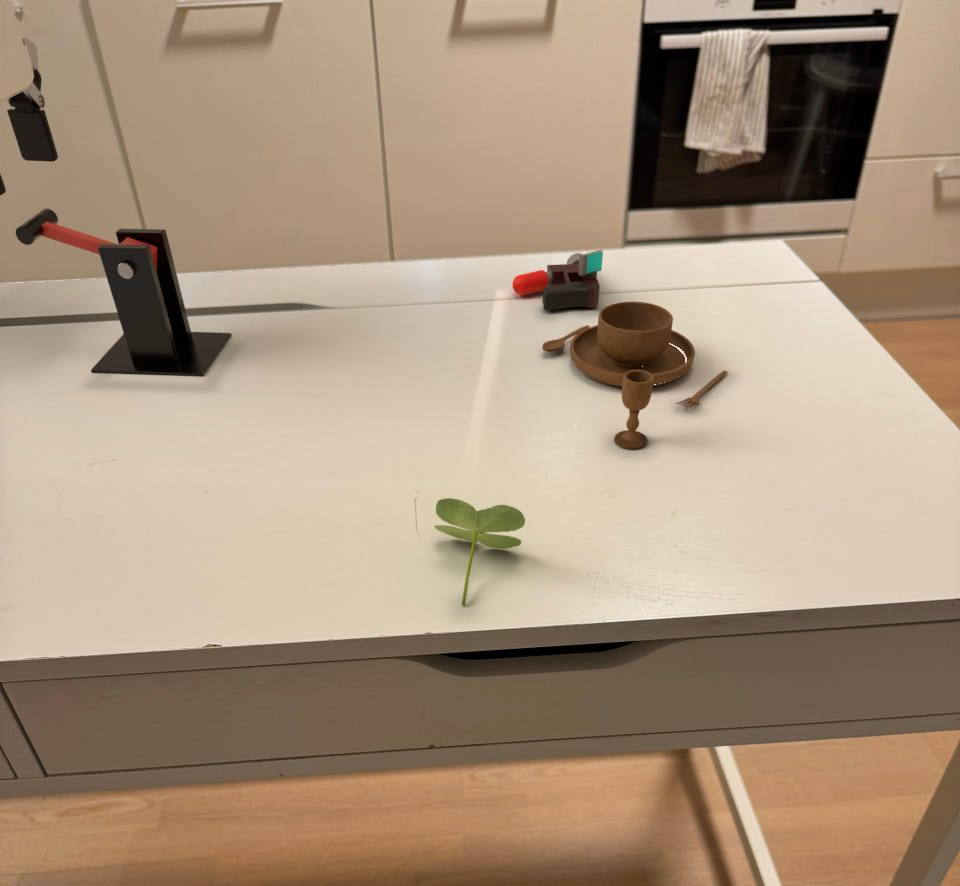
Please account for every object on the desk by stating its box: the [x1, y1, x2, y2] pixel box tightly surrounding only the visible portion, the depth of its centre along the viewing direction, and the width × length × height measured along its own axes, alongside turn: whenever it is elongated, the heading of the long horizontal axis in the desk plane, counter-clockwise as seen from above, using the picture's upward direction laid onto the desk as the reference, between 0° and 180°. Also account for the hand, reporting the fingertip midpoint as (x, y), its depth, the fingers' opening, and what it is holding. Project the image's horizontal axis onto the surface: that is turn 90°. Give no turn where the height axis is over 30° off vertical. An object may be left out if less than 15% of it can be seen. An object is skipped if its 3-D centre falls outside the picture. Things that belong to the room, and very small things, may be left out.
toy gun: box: [512, 249, 604, 312], centre depth 96 cm, size 10×12×5 cm
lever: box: [15, 207, 158, 272], centre depth 79 cm, size 11×5×2 cm, turn 85°
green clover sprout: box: [434, 497, 526, 607], centre depth 60 cm, size 7×8×6 cm
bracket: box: [90, 228, 232, 378], centre depth 82 cm, size 11×9×12 cm
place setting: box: [541, 301, 728, 450], centre depth 80 cm, size 18×20×6 cm
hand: (15, 176), depth 76 cm, fingers open, 9 cm apart
